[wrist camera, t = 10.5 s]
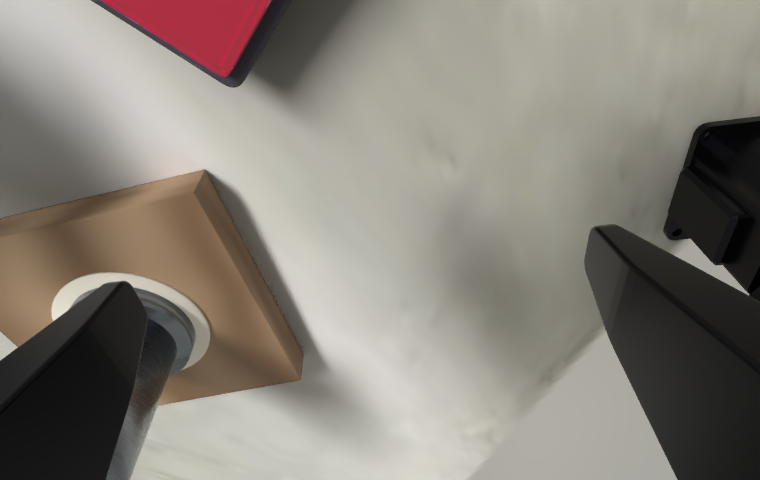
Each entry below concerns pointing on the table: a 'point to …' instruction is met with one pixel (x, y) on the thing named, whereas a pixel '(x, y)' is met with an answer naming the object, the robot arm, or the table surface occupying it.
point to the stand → (153, 278)
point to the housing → (151, 374)
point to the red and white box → (206, 30)
